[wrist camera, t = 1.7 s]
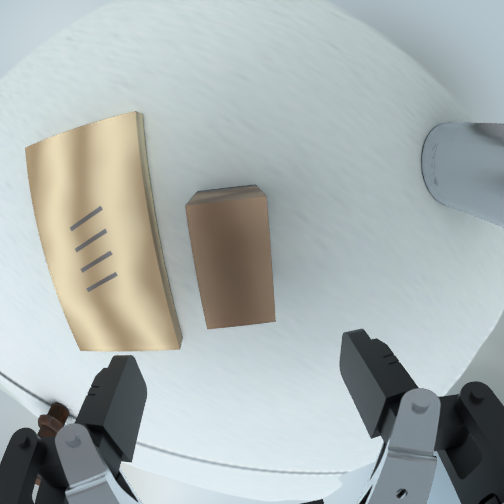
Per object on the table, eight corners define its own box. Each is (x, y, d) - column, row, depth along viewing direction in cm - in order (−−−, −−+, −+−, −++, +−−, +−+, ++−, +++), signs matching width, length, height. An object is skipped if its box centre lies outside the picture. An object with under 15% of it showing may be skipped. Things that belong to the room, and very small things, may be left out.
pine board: (142, 114, 21) (135, 111, 19) (182, 337, 28) (179, 349, 26) (36, 146, 20) (25, 147, 18) (86, 340, 28) (80, 350, 26)
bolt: (46, 391, 31) (10, 461, 17) (73, 404, 32) (42, 480, 18) (50, 410, 32) (20, 476, 18) (75, 423, 33) (50, 492, 19)
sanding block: (256, 184, 24) (266, 196, 17) (264, 280, 27) (275, 321, 20) (197, 191, 24) (185, 205, 17) (211, 286, 27) (207, 329, 20)
